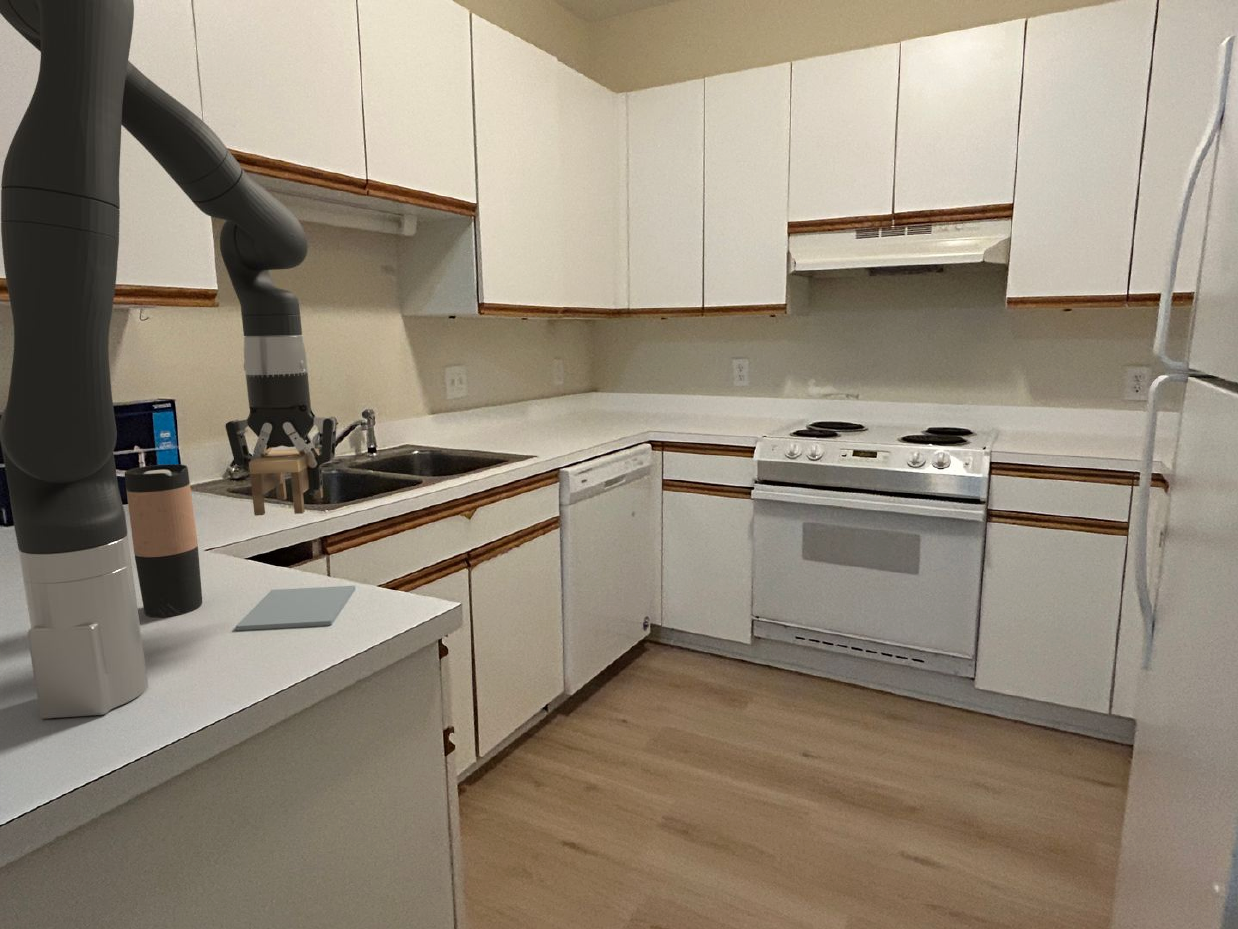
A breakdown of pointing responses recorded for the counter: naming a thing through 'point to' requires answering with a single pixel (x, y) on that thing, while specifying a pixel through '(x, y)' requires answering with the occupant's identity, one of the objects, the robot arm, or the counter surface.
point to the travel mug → (164, 539)
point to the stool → (280, 478)
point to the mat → (297, 608)
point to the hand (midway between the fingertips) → (289, 494)
